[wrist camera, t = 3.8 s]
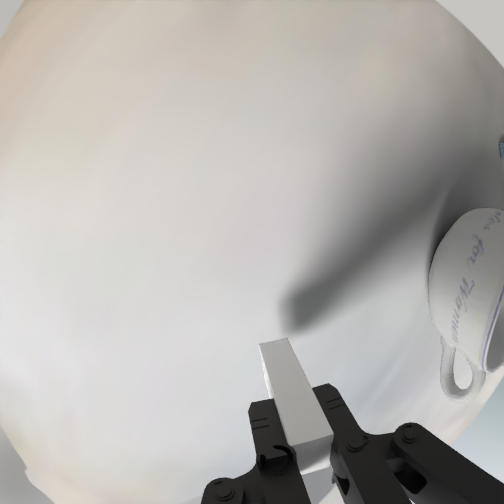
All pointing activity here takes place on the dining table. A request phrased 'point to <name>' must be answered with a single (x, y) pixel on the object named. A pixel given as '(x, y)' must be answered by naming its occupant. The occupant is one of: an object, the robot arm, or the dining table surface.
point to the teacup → (470, 298)
